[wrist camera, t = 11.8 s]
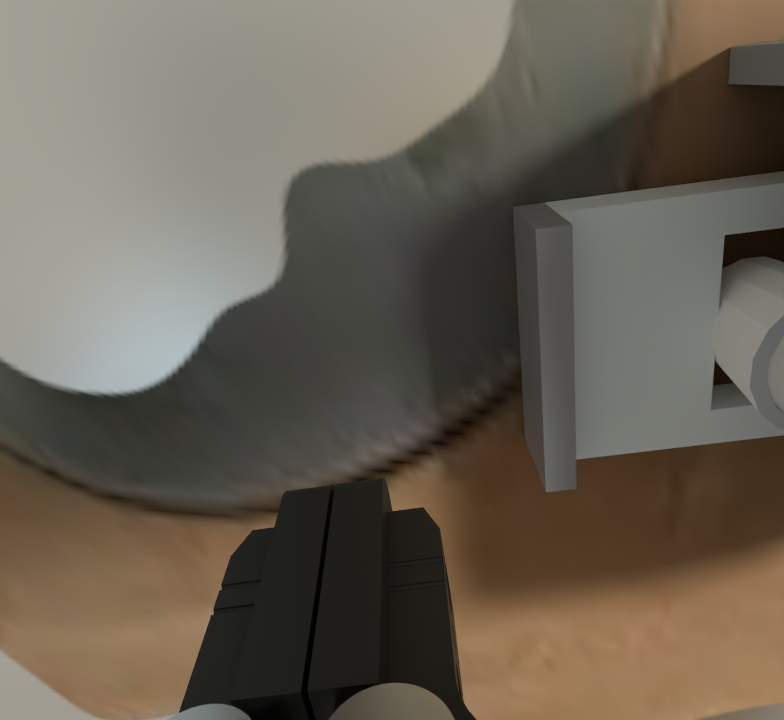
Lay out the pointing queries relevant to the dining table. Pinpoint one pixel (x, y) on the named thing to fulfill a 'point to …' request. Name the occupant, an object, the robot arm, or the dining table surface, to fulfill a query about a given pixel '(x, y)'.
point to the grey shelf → (757, 64)
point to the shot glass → (753, 332)
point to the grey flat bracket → (631, 320)
